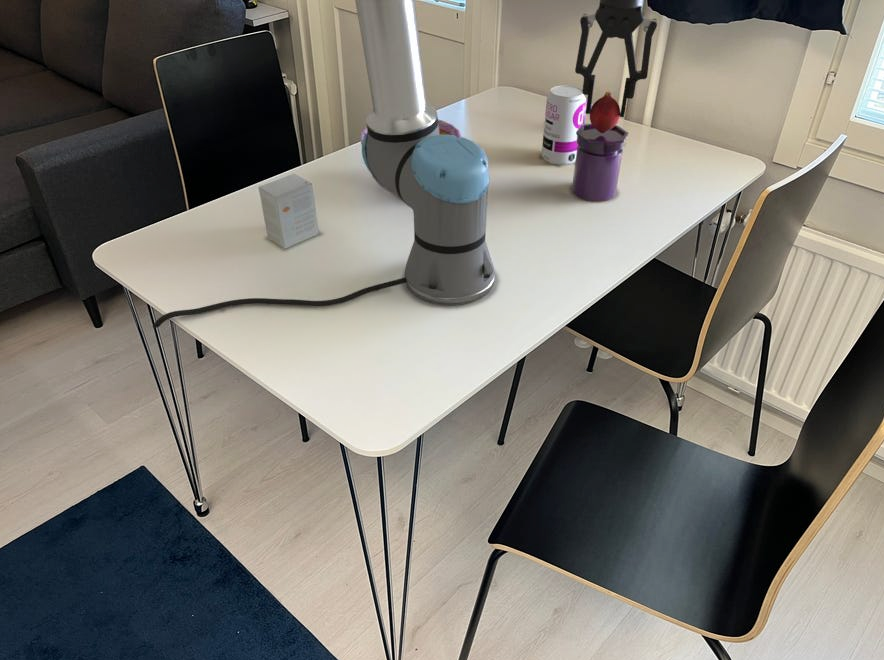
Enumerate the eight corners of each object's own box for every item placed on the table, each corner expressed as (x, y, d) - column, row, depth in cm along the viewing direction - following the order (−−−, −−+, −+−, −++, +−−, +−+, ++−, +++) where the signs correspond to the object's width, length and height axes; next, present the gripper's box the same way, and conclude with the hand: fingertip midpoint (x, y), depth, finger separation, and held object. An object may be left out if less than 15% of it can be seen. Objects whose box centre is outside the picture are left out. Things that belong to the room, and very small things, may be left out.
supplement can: (583, 156, 162) (592, 89, 153) (568, 169, 157) (576, 100, 147) (551, 148, 166) (558, 81, 156) (535, 160, 160) (540, 93, 151)
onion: (616, 140, 138) (623, 98, 133) (586, 137, 139) (592, 96, 134) (617, 128, 143) (623, 88, 137) (588, 126, 143) (593, 85, 138)
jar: (584, 205, 144) (593, 145, 136) (562, 185, 151) (568, 126, 143) (626, 197, 147) (636, 138, 139) (602, 178, 153) (610, 120, 145)
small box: (302, 223, 137) (295, 172, 131) (319, 234, 134) (313, 182, 128) (266, 238, 133) (257, 185, 126) (283, 249, 130) (275, 196, 123)
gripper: (681, -22, 125) (655, 110, 139) (572, -29, 128) (559, 101, 143) (680, -12, 119) (654, 125, 134) (567, -19, 122) (553, 115, 137)
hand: (605, 112), depth 138 cm, fingers closed on onion, 6 cm apart
